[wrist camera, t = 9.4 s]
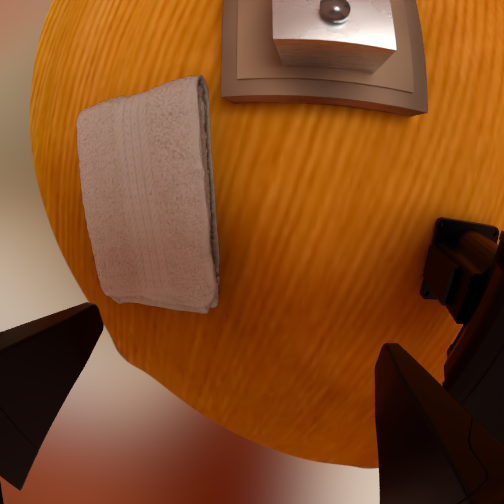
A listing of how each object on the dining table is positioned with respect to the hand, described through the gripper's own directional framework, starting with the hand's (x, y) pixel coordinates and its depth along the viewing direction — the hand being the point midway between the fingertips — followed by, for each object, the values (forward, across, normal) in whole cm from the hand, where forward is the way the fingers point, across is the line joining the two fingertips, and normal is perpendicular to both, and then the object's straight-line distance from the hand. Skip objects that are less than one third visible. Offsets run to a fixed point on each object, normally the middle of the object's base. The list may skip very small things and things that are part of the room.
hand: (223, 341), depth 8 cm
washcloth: (+14, +10, -1) cm, 17 cm away
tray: (+13, -3, -14) cm, 19 cm away
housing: (+10, -3, -14) cm, 17 cm away
